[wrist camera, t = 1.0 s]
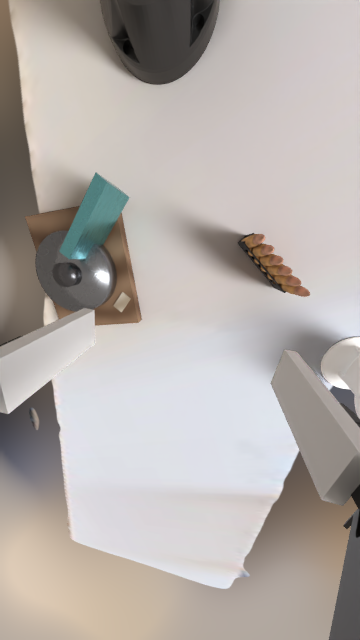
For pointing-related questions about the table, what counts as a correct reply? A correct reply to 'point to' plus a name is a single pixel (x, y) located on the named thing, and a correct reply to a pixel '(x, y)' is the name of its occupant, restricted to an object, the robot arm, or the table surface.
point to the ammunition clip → (271, 265)
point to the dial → (83, 251)
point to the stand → (125, 296)
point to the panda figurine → (344, 367)
